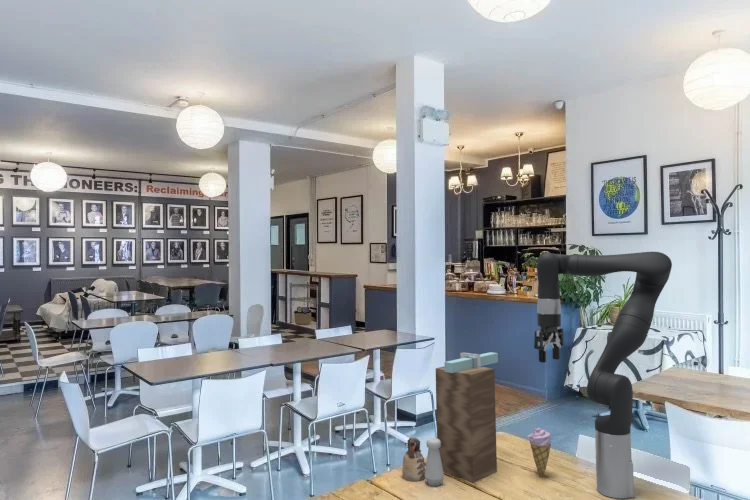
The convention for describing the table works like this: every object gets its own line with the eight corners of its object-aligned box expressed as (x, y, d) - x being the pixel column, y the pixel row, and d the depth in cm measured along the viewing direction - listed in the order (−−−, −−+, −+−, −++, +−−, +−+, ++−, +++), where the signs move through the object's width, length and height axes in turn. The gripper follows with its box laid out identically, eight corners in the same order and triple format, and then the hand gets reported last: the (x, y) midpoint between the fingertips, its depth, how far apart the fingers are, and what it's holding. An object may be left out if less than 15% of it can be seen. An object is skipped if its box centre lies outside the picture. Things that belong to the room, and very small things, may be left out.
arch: (480, 368, 163) (480, 354, 163) (477, 368, 162) (477, 355, 162) (463, 365, 168) (463, 352, 168) (460, 366, 167) (460, 352, 167)
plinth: (496, 471, 161) (494, 368, 162) (473, 482, 153) (470, 374, 154) (461, 459, 171) (459, 363, 172) (437, 469, 163) (435, 368, 164)
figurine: (428, 473, 160) (427, 435, 160) (421, 483, 153) (420, 442, 154) (406, 470, 163) (406, 432, 163) (399, 479, 156) (398, 439, 156)
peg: (490, 361, 175) (490, 352, 175) (498, 362, 172) (497, 353, 172) (444, 371, 159) (444, 361, 159) (452, 373, 156) (451, 363, 156)
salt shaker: (443, 488, 149) (442, 443, 150) (423, 486, 151) (422, 442, 151) (444, 479, 155) (443, 436, 156) (425, 478, 156) (425, 435, 157)
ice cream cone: (527, 477, 156) (525, 427, 156) (531, 470, 161) (529, 422, 162) (550, 481, 153) (548, 430, 153) (553, 473, 158) (551, 424, 159)
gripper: (550, 310, 180) (550, 357, 179) (527, 312, 171) (527, 361, 170) (570, 311, 174) (570, 359, 174) (547, 314, 165) (548, 364, 164)
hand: (549, 360), depth 172 cm, fingers open, 8 cm apart
